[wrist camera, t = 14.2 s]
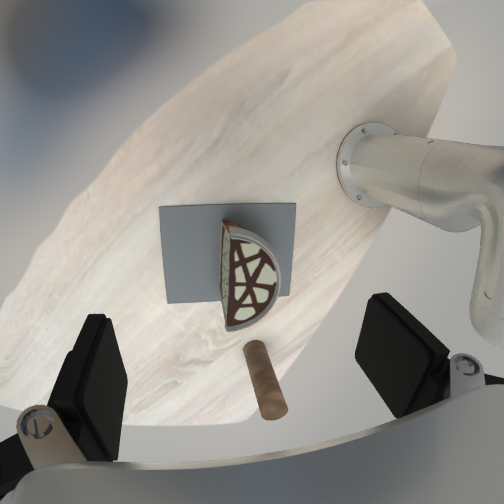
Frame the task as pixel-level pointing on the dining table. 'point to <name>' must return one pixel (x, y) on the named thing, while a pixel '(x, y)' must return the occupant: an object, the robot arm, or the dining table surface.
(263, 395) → the walnut post
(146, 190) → the dining table surface
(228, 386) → the dining table surface
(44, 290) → the dining table surface
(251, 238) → the food container
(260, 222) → the charcoal mat
